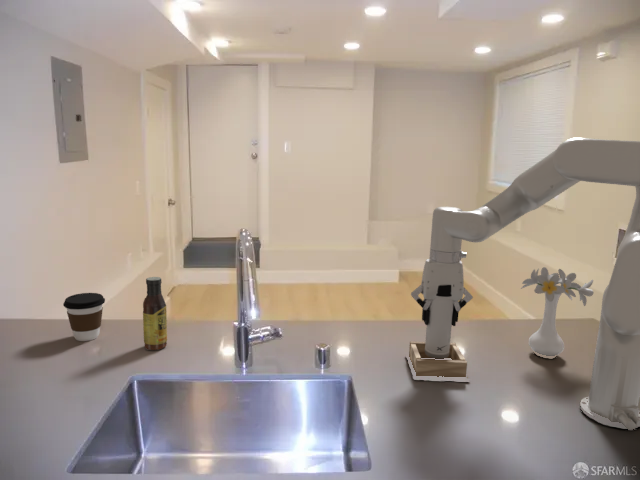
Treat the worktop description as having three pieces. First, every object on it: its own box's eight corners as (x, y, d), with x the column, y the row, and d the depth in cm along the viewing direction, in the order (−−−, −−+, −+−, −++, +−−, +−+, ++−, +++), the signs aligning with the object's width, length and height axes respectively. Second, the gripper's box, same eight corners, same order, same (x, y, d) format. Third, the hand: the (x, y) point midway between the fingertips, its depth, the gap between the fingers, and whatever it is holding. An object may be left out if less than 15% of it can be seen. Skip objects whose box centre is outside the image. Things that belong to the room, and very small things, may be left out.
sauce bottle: (163, 351, 139) (160, 282, 135) (140, 351, 139) (137, 281, 135) (170, 342, 145) (168, 275, 141) (149, 341, 146) (146, 275, 142)
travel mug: (444, 361, 128) (450, 285, 124) (420, 354, 132) (426, 280, 128) (454, 354, 133) (460, 280, 129) (430, 347, 137) (436, 276, 133)
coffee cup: (57, 341, 144) (53, 301, 141) (85, 328, 154) (82, 290, 152) (89, 346, 141) (86, 305, 138) (115, 332, 151) (113, 294, 149)
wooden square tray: (469, 382, 126) (471, 364, 125) (413, 380, 126) (414, 362, 125) (456, 358, 140) (457, 341, 139) (405, 356, 140) (406, 340, 139)
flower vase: (590, 365, 138) (603, 277, 133) (523, 363, 138) (534, 275, 133) (567, 345, 151) (578, 264, 146) (506, 344, 151) (514, 263, 146)
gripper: (475, 254, 131) (469, 319, 134) (408, 251, 131) (403, 317, 134) (483, 261, 123) (476, 330, 127) (412, 258, 123) (408, 327, 127)
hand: (439, 323), depth 131 cm, fingers closed on travel mug, 6 cm apart
